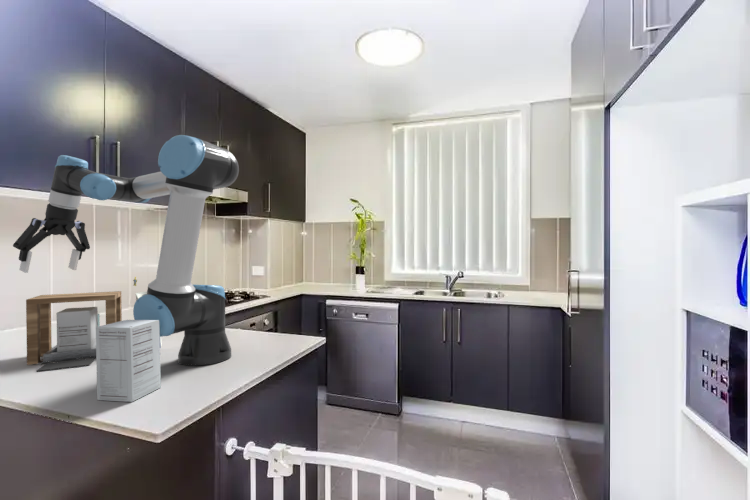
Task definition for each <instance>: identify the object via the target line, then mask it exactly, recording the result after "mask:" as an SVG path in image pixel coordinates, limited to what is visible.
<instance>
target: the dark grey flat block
mask: <svg viewBox="0 0 750 500" xmlns="http://www.w3.org/2000/svg"><path fill="white" fill-rule="evenodd" d="M95 360H96V357H91V358H82V359H73V360H64V361H55V362H46V363H44V364H43V365H41V366H40V367H39V368H38V369H37V370H36V373H40V372H47V371H55V370H56V371H57V370H65V369H72V368H74V369H75V368H81V367H82V368H83V367H90V366H91V364H93V362H94V361H95Z"/></svg>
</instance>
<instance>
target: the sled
mask: <svg viewBox="0 0 750 500" xmlns="http://www.w3.org/2000/svg"><path fill="white" fill-rule="evenodd" d="M100 317H101V315H100V313H98V327H99V326H101V325H100V323H101V321H100ZM86 358H96V348H95V349H85V350H75V351H66V352H57V344H56V345H54V346H52V349H50V350H49V351H47V352H46V353H45V354H43V356H42V359H43V363H44V364H46V363H50V362H59V361H68V360H77V359H86ZM43 363H42V364H43Z"/></svg>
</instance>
